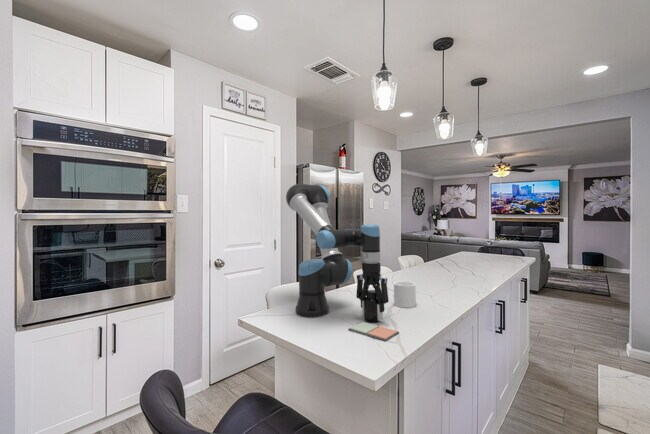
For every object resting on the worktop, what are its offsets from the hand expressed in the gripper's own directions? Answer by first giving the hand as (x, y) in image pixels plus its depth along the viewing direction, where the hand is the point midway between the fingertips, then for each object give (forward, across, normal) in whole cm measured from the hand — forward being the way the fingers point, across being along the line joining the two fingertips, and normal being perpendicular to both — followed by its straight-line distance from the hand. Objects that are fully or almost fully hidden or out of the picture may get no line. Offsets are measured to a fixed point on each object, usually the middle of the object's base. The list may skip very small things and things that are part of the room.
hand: (372, 317), depth 120 cm
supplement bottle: (+1, 0, 0) cm, 1 cm away
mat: (+1, +7, -10) cm, 12 cm away
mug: (+1, 0, +29) cm, 29 cm away
